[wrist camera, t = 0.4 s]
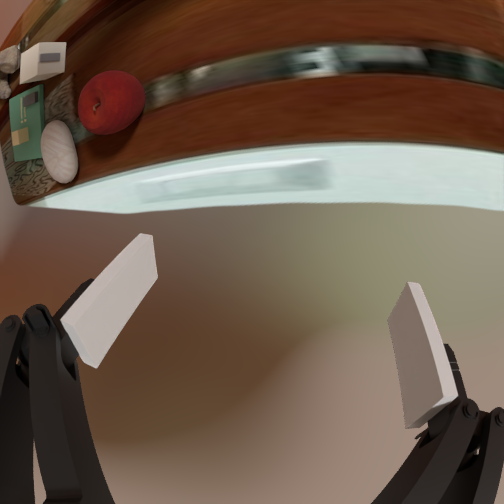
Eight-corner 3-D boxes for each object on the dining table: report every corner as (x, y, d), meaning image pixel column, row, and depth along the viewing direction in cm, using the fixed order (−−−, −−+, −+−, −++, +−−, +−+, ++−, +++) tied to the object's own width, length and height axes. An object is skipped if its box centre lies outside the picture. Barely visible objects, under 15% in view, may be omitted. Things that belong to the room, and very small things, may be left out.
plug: (46, 51, 29) (21, 54, 24) (67, 41, 29) (40, 41, 23) (45, 79, 33) (19, 84, 27) (65, 71, 32) (38, 74, 26)
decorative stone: (48, 126, 39) (31, 131, 34) (75, 110, 36) (56, 115, 32) (63, 182, 45) (47, 191, 41) (89, 173, 43) (72, 182, 39)
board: (13, 98, 35) (-1, 102, 32) (43, 84, 33) (28, 86, 30) (18, 160, 44) (6, 166, 40) (48, 155, 42) (34, 161, 39)
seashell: (39, 42, 31) (9, 31, 21) (31, 71, 32) (-3, 61, 22) (12, 75, 35) (-16, 68, 25) (5, 104, 35) (-25, 98, 26)
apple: (101, 110, 36) (59, 120, 28) (126, 61, 31) (84, 60, 23) (139, 137, 38) (99, 152, 30) (168, 86, 33) (130, 87, 25)
